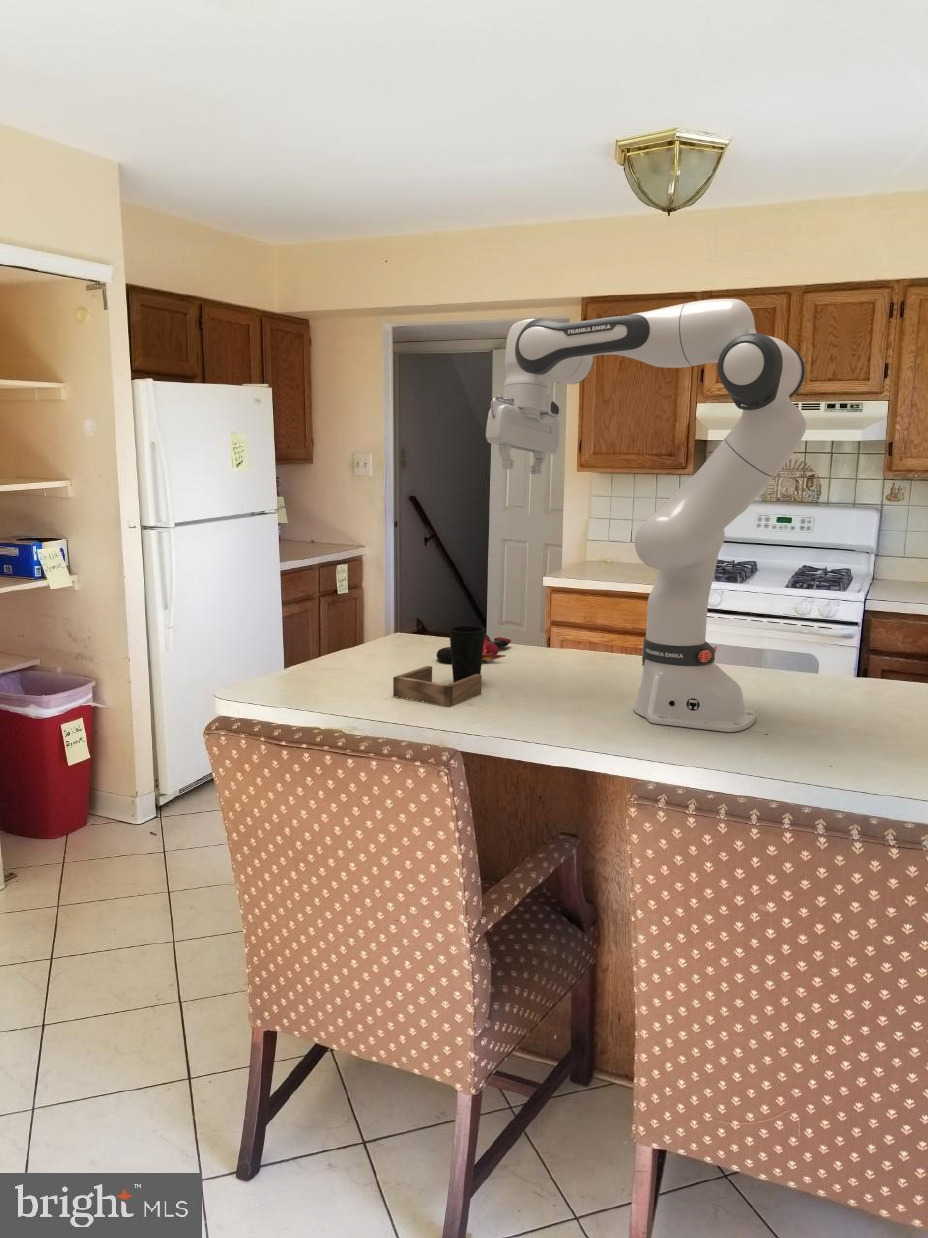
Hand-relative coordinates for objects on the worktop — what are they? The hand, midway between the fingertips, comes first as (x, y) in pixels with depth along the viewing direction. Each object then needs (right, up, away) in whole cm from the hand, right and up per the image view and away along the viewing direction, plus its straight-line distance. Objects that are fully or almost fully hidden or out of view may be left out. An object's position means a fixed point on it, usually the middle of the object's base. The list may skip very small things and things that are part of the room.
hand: (521, 471), depth 190 cm
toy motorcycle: (-8, -39, +39) cm, 55 cm away
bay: (-17, -45, +2) cm, 48 cm away
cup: (-11, -44, +11) cm, 46 cm away
